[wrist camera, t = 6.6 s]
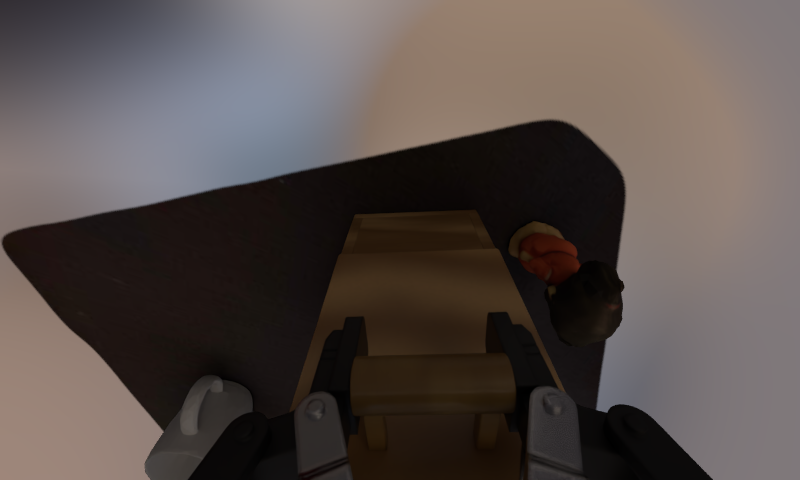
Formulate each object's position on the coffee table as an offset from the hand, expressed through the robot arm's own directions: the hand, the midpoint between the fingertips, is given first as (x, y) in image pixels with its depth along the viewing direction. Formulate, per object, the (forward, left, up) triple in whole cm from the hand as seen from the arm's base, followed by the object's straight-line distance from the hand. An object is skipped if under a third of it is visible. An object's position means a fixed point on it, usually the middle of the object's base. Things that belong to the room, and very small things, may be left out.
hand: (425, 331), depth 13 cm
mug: (+37, -1, -19) cm, 42 cm away
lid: (+3, +2, -3) cm, 4 cm away
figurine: (-3, +14, -19) cm, 24 cm away
